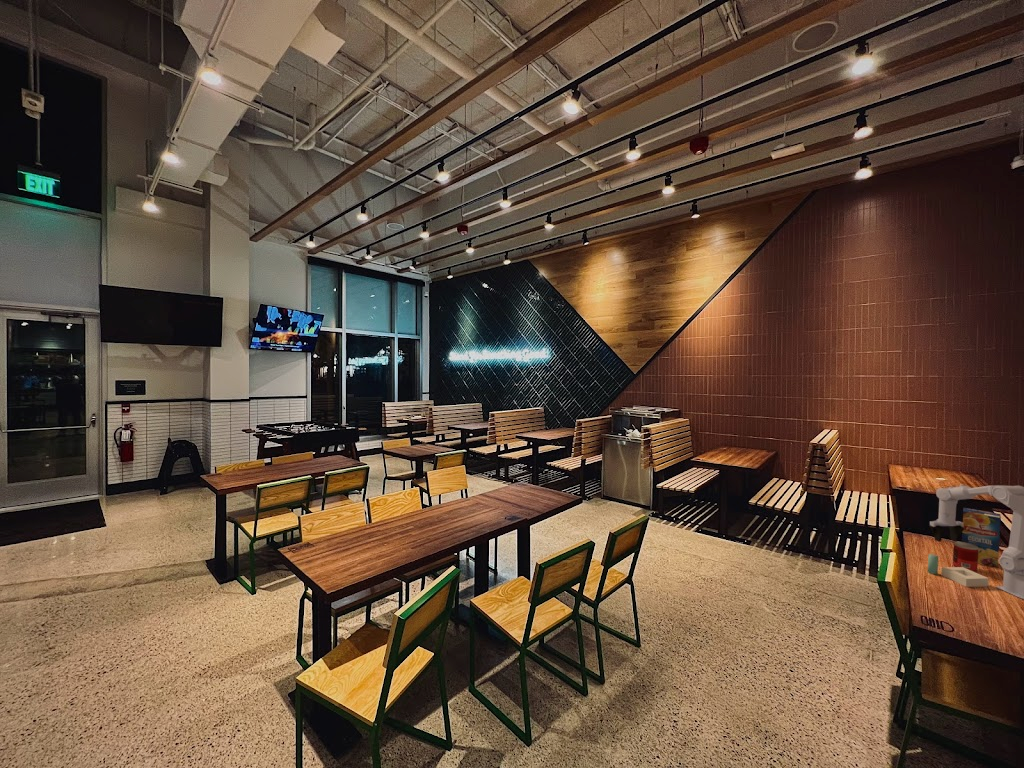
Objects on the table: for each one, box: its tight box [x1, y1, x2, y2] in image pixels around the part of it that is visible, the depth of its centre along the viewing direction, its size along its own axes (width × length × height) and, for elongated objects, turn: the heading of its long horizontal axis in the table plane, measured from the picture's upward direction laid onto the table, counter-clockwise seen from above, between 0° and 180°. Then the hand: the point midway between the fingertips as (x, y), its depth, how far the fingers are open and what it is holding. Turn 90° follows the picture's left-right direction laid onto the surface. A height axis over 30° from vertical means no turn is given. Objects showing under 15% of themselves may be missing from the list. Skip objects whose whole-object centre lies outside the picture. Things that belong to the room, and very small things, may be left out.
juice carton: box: [961, 507, 1002, 569], centre depth 203 cm, size 12×8×24 cm, turn 42°
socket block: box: [940, 566, 990, 588], centre depth 186 cm, size 10×10×4 cm
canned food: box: [952, 541, 979, 573], centre depth 197 cm, size 8×8×11 cm
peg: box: [927, 553, 939, 576], centre depth 192 cm, size 3×3×8 cm
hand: (945, 540), depth 203 cm, fingers open, 7 cm apart
